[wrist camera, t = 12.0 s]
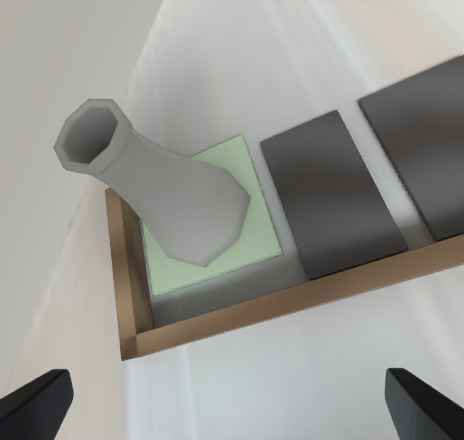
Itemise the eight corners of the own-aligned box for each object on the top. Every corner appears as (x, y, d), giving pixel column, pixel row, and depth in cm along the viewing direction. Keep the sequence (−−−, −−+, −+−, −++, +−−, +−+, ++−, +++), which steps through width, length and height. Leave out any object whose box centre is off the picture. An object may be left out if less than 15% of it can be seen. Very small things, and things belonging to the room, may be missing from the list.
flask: (136, 232, 21) (-11, 173, 12) (191, 151, 22) (89, 38, 13) (209, 288, 18) (84, 264, 9) (270, 193, 19) (210, 81, 10)
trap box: (992, 112, 11) (1123, 72, 9) (141, 356, 19) (121, 361, 17) (714, -57, 15) (764, -106, 14) (122, 199, 24) (105, 190, 22)
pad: (283, 253, 18) (280, 251, 17) (159, 295, 20) (152, 294, 19) (245, 140, 21) (241, 134, 21) (142, 185, 23) (136, 181, 23)
